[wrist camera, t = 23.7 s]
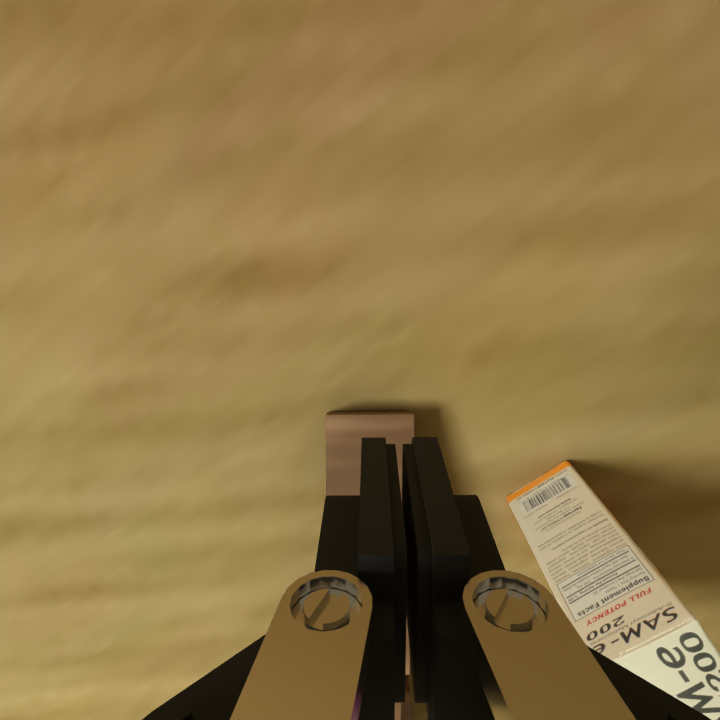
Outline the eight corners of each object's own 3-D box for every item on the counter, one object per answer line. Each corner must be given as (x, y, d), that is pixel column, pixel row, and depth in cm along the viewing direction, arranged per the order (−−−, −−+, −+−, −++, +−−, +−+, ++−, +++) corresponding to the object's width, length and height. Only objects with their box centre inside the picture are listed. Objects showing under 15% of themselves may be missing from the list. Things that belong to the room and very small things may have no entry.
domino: (325, 415, 29) (327, 593, 28) (414, 414, 29) (416, 592, 29) (327, 412, 31) (329, 578, 30) (410, 411, 31) (412, 577, 30)
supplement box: (628, 544, 34) (788, 747, 21) (565, 579, 34) (682, 795, 22) (567, 454, 32) (703, 619, 19) (501, 494, 32) (590, 677, 20)
